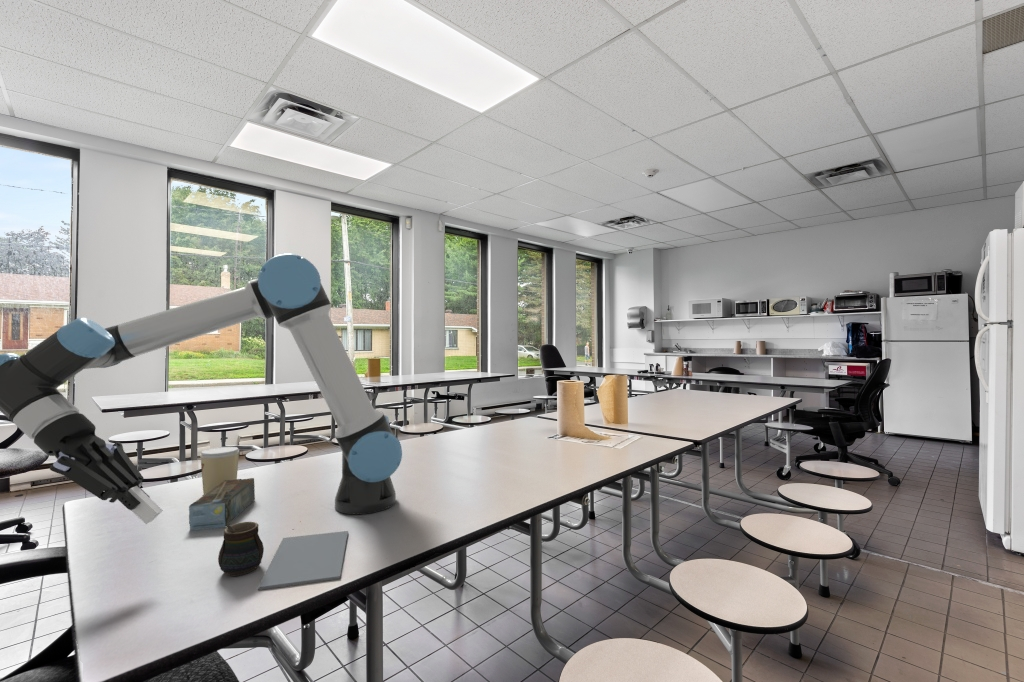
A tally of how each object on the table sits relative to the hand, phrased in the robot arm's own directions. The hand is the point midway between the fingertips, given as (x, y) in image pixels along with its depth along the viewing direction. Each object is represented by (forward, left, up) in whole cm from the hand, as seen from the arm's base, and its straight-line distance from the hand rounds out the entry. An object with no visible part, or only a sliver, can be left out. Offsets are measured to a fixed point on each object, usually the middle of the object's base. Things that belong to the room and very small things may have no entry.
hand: (154, 517), depth 82 cm
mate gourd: (-15, +3, -11) cm, 18 cm away
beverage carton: (-2, -30, -11) cm, 32 cm away
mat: (-26, +1, -10) cm, 28 cm away
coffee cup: (+4, -49, -11) cm, 51 cm away
